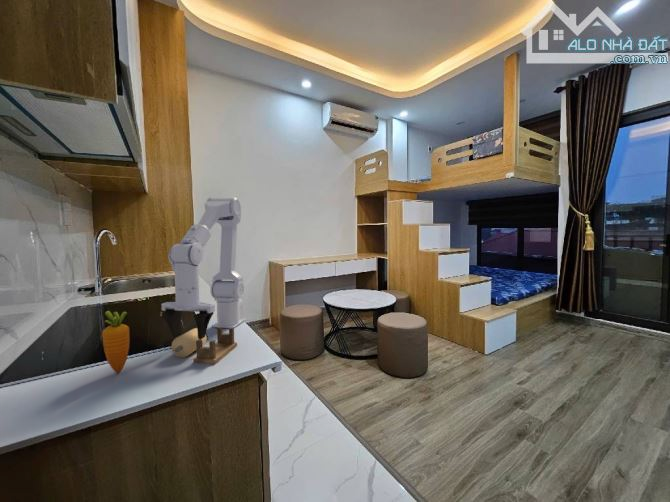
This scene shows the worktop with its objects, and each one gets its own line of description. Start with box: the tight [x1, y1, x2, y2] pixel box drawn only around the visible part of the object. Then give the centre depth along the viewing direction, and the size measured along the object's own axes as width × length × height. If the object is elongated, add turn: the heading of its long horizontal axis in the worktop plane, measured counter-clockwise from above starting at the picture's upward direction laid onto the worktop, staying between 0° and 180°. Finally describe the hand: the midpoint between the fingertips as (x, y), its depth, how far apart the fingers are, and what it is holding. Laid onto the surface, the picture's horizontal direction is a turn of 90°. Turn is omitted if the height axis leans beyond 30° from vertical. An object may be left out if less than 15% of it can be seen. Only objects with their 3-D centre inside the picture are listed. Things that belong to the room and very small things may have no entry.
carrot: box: [101, 310, 130, 374], centre depth 66 cm, size 5×5×15 cm
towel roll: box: [171, 327, 208, 358], centre depth 77 cm, size 6×10×6 cm, turn 171°
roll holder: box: [193, 327, 238, 365], centre depth 76 cm, size 6×11×6 cm, turn 171°
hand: (189, 336), depth 77 cm, fingers open, 7 cm apart
